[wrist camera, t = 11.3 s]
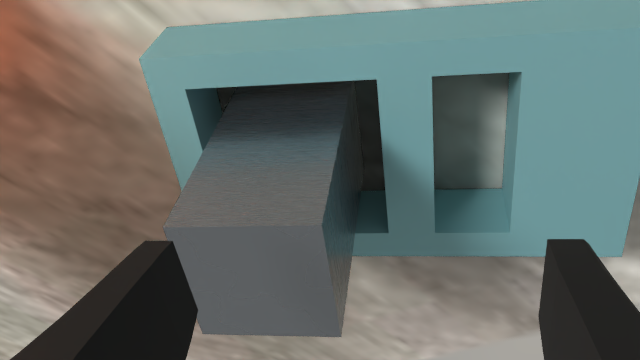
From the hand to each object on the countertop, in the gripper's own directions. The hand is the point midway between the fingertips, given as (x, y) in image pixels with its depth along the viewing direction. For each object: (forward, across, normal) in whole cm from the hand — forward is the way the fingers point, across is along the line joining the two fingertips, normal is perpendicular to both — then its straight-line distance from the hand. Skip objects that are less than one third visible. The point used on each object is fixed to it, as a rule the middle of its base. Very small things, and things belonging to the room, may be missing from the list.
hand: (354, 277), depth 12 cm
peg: (+10, +3, +3) cm, 11 cm away
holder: (+10, 0, +3) cm, 11 cm away
